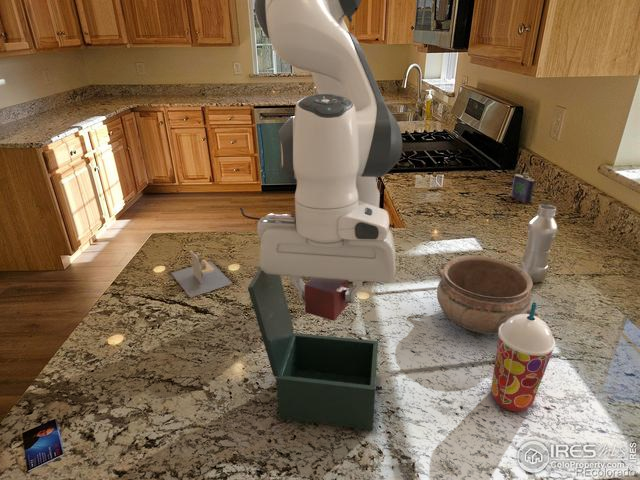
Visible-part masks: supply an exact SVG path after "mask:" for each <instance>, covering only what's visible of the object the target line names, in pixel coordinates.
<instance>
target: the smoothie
mask: <svg viewBox="0 0 640 480" xmlns="http://www.w3.org/2000/svg"><path fill="white" fill-rule="evenodd" d="M531 303H532V305H531V310H530V314H517V315H515V316H513V317H511V318H509V319H508V320H507V321H506V322H505V323H503V324H501V326H500V327H499V332H498V333H497V339H496V340H497V341H496V349H495V356H494V363H493V364H494V365H493V372H492V378H491V379H492V380H491V386H490V387H491V388H490V390H491V393H492V396H493V398H494V400H495V402H496V403H497V405H499V406H500V407H501V408H503V409H506V410H507V411H511V412H518V413H519V412H523V411H525V410H527V409H528V408H530V407H531V406H532V405H533V404H534V401H535V398H536V397H537V393H538V391H539V388H540V387H541V383H542V380H543V378H544V375H545V372H546V370H547V367H548V364H549V362H550V359H551V357H552V354H553V352H554V349H555V347H556V339H555V338H554V335H553V332H552V330H551V328H550V327H549V326H548V324H547V323H546V322H545V321H544V320H543V319H542V318H541V319H540V318H539V317H537V316H534V313H535V312H536V309H537V305H538V304H537V302H535V301H533V302H531Z"/></svg>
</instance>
